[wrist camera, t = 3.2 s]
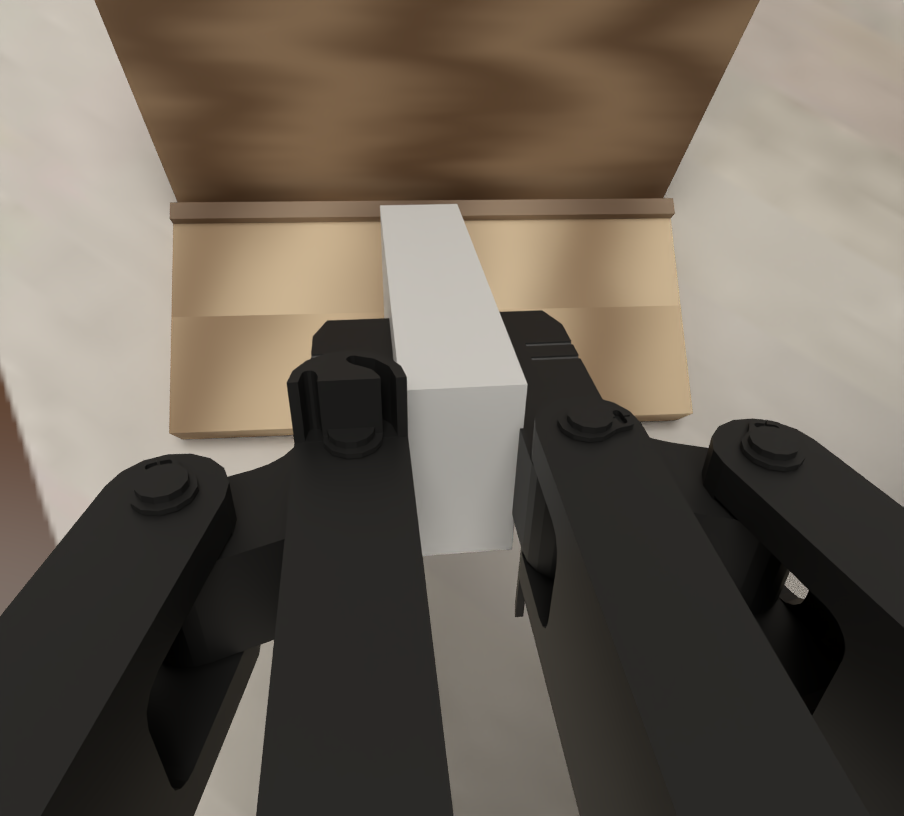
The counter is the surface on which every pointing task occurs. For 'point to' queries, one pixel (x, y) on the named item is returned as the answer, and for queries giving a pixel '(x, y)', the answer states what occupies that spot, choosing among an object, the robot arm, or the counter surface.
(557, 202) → the laid floorboards
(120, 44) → the board
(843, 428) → the counter surface
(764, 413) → the counter surface
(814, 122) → the counter surface
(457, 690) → the counter surface
